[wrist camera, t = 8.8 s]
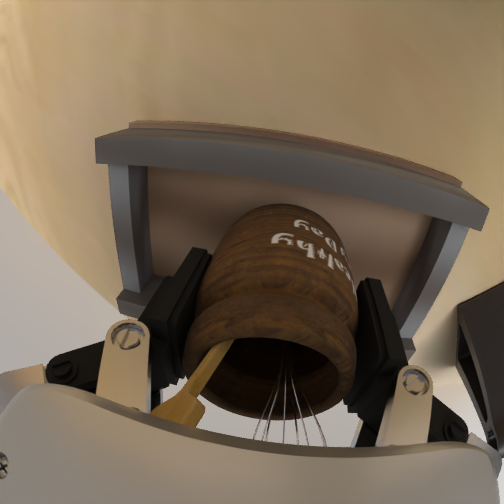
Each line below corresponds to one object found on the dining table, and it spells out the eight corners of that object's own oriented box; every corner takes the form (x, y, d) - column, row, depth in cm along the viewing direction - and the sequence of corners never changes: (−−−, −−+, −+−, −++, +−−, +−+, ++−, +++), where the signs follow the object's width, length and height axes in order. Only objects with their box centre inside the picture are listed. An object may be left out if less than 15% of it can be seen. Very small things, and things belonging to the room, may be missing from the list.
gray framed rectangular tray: (138, 120, 14) (94, 131, 10) (453, 176, 12) (491, 202, 9) (146, 280, 19) (120, 316, 16) (392, 322, 18) (404, 365, 15)
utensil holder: (272, 321, 15) (233, 543, 5) (192, 240, 14) (54, 485, 3) (366, 270, 13) (410, 540, 3) (290, 165, 11) (228, 585, 1)
